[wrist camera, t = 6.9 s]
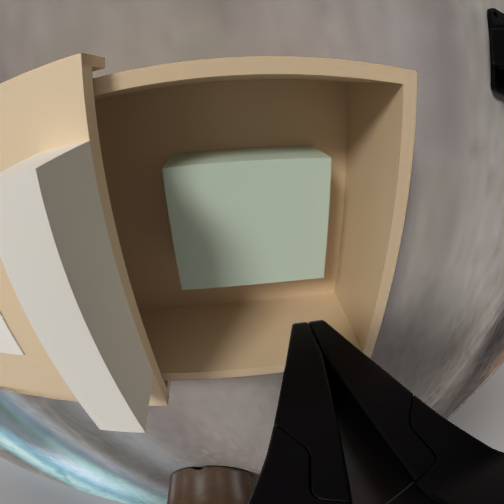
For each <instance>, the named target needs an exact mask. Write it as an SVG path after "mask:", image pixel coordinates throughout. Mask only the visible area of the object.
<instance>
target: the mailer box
mask: <svg viewBox="0 0 504 504" xmlns="http://www.w3.org/2000/svg"><path fill="white" fill-rule="evenodd" d="M93 90H94V100H95V110H96V118H97V126H98V134H99V141H100V148H101V154H102V160H103V166H104V172H105V178H106V183H107V188H108V193H109V198H110V203H111V208H112V213H113V217H114V222H115V226H116V230H117V234H118V239H119V243H120V247H121V251H122V254H123V258H124V262H125V266H126V269H127V273H128V277H129V280H130V284H131V287H132V290H133V294H134V297H135V300H136V304H137V307H138V310H139V313H140V316H141V319H142V322H143V325H144V328H145V331H146V334H147V337H148V340H149V343H150V346H151V348H152V351H153V354H154V357H155V359H156V362H157V365H158V367H159V370H160V373H161V375H162V378H163V380H164V381H168V380H198V379H216V378H231V377H243V376H254V375H264V374H273V373H281V372H284V370H285V364H286V358H287V353H288V347H289V341H290V335H291V329H292V325H293V324H294V323H300V322H307V323H309V322H310V321H316V320H324V321H326V322H327V323H328V324H329V325H330V326H332V327H333V328H334V329H335V330H336V331H338V332H339V333H340V334H341V335H342V336H344V337H345V338H346V339H347V340H348V341H350V342H351V343H352V344H353V345H354V346H356V347H357V348H358V349H359V350H360V351H362V352H363V353H364V354H365V355H366V356H368V357H369V358H371V356H372V353H373V350H374V347H375V343H376V340H377V337H378V333H379V330H380V326H381V323H382V319H383V316H384V312H385V308H386V304H387V301H388V297H389V293H390V289H391V284H392V280H393V276H394V271H395V267H396V262H397V257H398V252H399V247H400V242H401V237H402V231H403V226H404V220H405V214H406V207H407V201H408V193H409V186H410V178H411V169H412V160H413V149H414V136H415V121H416V95H417V71H413V70H408V69H403V68H398V67H392V66H386V65H380V64H373V63H366V62H358V61H349V60H340V59H328V58H313V57H289V56H254V57H229V58H215V59H203V60H193V61H184V62H176V63H169V64H162V65H156V66H150V67H144V68H138V69H133V70H128V71H123V72H119V73H114V74H110V75H105V76H101V77H97V78H93Z"/></svg>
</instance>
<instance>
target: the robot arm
mask: <svg viewBox="0 0 504 504" xmlns="http://www.w3.org/2000/svg"><path fill="white" fill-rule="evenodd" d="M487 13H488V22H489V33H490V47H491V85H492V89H493V90H494V91H495V92H497V93H500V94H502V95H504V14H503V13H501V12H500V11H498V10H496V9H494V8H490V9H488V10H487ZM497 85H498V87H497ZM248 504H504V453H503V452H500V451H497V450H495V449H492V448H490V447H489V446H487V445H485V444H484V443H482V442H481V441H479V440H477V439H476V438H474V437H473V436H471V435H469V434H468V433H466V432H465V431H463V430H461V429H460V428H458V427H457V426H455V425H454V424H452V423H451V422H449V421H448V420H446V419H445V418H443V417H442V416H440V415H439V414H438V413H436V412H435V411H434V410H433V409H431V408H430V407H429V406H427V405H426V404H425V403H424V402H422V401H421V400H420V399H419V398H417V397H416V396H415V395H414V396H413V394H412V393H411V392H410V391H409V390H408V389H406V388H405V387H404V386H403V385H402V384H400V383H399V382H398V381H397V380H395V379H394V378H393V377H392V376H391V375H389V374H388V373H387V372H386V371H385V370H383V369H382V368H381V367H380V366H379V365H377V364H376V363H375V362H374V361H372V360H371V359H370V358H369V357H368V356H366V355H365V354H364V353H363V352H362V351H360V350H359V349H358V348H357V347H356V346H354V345H353V344H352V343H351V342H350V341H348V340H347V339H346V338H345V337H344V336H342V335H341V334H340V333H339V332H338V331H336V330H335V329H334V328H333V327H332V326H330V325H329V324H328V323H327V322H326V321H324V320H316V321H310V322H309V323H307V322H300V323H294V324H293V325H292V329H291V335H290V341H289V347H288V353H287V358H286V364H285V370H284V375H283V381H282V386H281V391H280V396H279V402H278V407H277V412H276V417H275V422H274V427H273V431H272V435H271V440H270V444H269V448H268V452H267V455H266V459H265V462H264V465H263V467H262V470H261V473H260V476H259V478H258V481H257V483H256V485H255V488H254V490H253V492H252V495H251V497H250V499H249V501H248Z"/></svg>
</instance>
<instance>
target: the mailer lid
mask: <svg viewBox="0 0 504 504" xmlns="http://www.w3.org/2000/svg"><path fill="white" fill-rule="evenodd" d="M103 68H105V58H103V57H99V56H94V55H89V54H84V53H79V54H76V55H73V56H70V57H66V58H63V59H60V60H58V61H55V62H52V63H49V64H46V65H44V66H41V67H38V68H36V69H33V70H31V71H28V72H26V73H23V74H21V75H19V76H16V77H14V78H12V79H10V80H8V81H5V82H3V83H1V84H0V389H1V390H6V391H11V392H16V393H22V394H27V395H33V396H40V397H46V398H53V399H61V400H69V401H78V402H79V403H80V404H81V405H82V407H83V408H84V409H85V411H86V412H87V413H88V415H89V416H90V417H91V419H92V420H93V421H94V422H95V424H96V425H97V426H98V427H99V429H100V430H110V431H122V432H138V433H145V432H146V424H147V416H148V408H149V406H168V398H169V388H170V380H168V381H164V380H163V378H162V375H161V373H160V370H159V367H158V365H157V362H156V359H155V357H154V354H153V351H152V348H151V346H150V343H149V340H148V337H147V334H146V331H145V328H144V325H143V322H142V319H141V316H140V313H139V310H138V307H137V304H136V300H135V297H134V294H133V290H132V287H131V284H130V280H129V277H128V273H127V269H126V266H125V262H124V258H123V254H122V251H121V247H120V243H119V239H118V234H117V230H116V226H115V222H114V217H113V213H112V208H111V203H110V198H109V193H108V188H107V183H106V178H105V172H104V166H103V160H102V154H101V148H100V141H99V134H98V126H97V118H96V110H95V100H94V90H93V77H92V71H95V70H99V69H103Z"/></svg>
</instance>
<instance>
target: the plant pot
mask: <svg viewBox="0 0 504 504" xmlns="http://www.w3.org/2000/svg"><path fill="white" fill-rule="evenodd" d="M254 488H255V481H254V478H253V477H252V475H251V474H250V473H249V472H246V471H243V470H240V469H236V468H230V467H218V466H205V467H204V468H202V469H199V470H198V469H194V468H192V467H190V468H185V469H181V470H178V471H176V472H174V473H173V474H172V475H171V477H170V484H169V493H168V501H167V504H248V501H249V499H250V497H251V495H252V492H253V490H254Z"/></svg>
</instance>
